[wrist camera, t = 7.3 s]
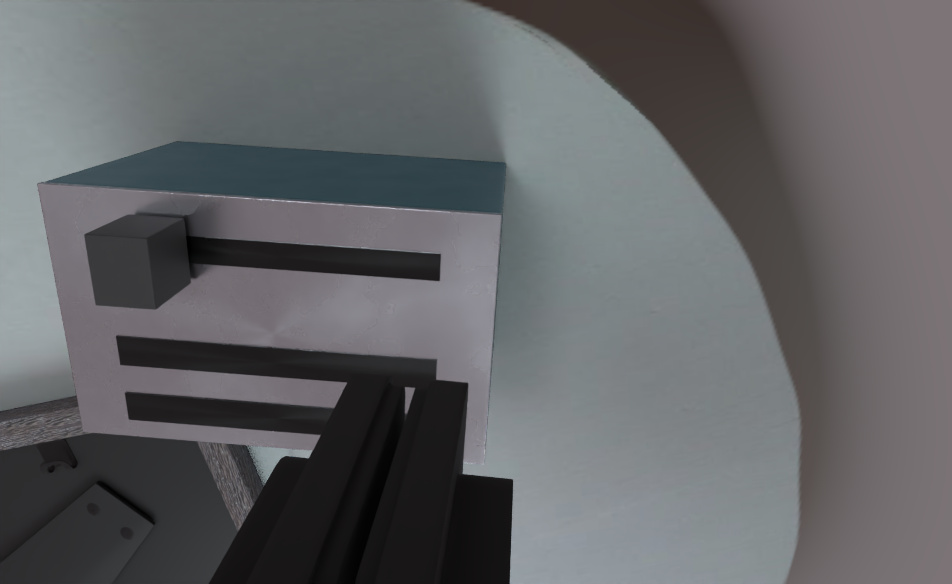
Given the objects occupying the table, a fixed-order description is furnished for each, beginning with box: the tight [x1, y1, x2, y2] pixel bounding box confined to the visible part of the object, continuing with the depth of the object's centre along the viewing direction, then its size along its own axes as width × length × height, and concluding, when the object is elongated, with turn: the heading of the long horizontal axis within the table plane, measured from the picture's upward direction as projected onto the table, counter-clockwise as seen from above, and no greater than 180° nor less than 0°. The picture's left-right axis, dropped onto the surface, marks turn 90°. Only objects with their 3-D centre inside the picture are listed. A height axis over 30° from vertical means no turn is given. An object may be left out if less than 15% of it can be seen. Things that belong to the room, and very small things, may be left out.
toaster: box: [37, 141, 506, 464], centre depth 29 cm, size 10×16×10 cm, turn 87°
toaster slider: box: [84, 214, 191, 310], centre depth 22 cm, size 2×2×2 cm
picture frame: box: [0, 396, 263, 584], centre depth 40 cm, size 16×2×21 cm
